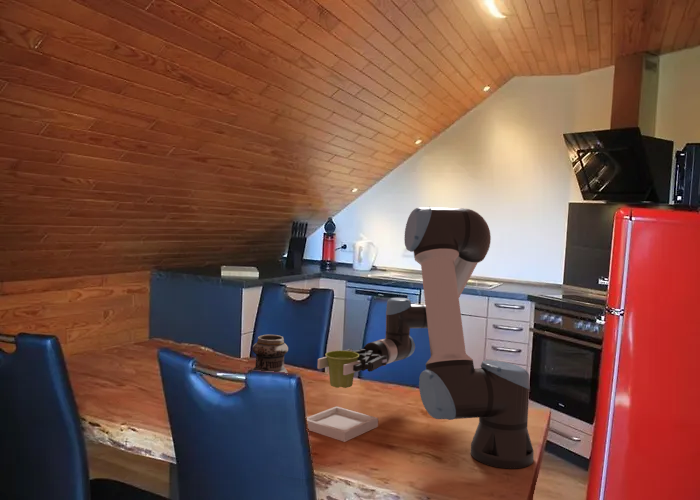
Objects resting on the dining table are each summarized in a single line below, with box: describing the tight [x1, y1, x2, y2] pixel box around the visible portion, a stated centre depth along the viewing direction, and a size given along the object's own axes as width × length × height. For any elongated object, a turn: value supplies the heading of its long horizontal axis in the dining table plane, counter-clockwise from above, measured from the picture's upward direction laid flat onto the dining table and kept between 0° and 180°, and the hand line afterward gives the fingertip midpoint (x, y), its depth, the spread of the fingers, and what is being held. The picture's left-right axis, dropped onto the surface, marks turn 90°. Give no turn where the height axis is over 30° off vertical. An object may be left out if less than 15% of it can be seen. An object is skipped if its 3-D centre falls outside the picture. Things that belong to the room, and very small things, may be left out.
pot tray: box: [306, 405, 379, 443], centre depth 161 cm, size 15×15×2 cm
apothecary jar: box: [252, 334, 289, 373], centre depth 194 cm, size 12×12×18 cm
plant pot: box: [324, 350, 359, 389], centre depth 161 cm, size 9×9×9 cm
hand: (331, 366), depth 157 cm, fingers closed on plant pot, 8 cm apart
